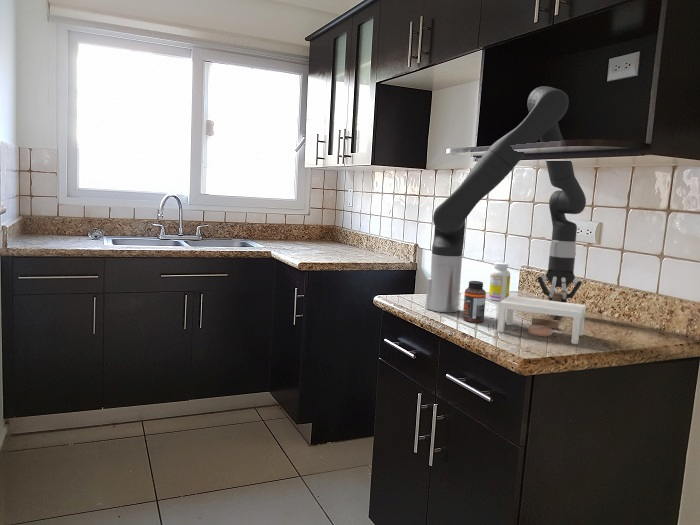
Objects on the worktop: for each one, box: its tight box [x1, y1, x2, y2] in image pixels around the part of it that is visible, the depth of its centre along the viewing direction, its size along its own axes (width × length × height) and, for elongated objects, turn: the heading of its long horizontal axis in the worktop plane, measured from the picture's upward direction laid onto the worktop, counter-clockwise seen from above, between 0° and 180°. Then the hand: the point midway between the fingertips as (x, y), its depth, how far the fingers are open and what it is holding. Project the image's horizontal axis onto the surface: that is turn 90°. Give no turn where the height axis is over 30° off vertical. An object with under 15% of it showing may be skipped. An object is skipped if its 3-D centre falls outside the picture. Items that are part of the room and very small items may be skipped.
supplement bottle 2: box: [488, 262, 511, 302], centre depth 196 cm, size 7×7×13 cm
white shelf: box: [496, 295, 586, 345], centre depth 149 cm, size 20×12×8 cm, turn 62°
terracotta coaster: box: [527, 324, 553, 337], centre depth 150 cm, size 6×6×2 cm
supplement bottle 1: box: [462, 280, 487, 324], centre depth 160 cm, size 6×6×11 cm
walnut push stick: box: [531, 291, 562, 330], centre depth 169 cm, size 7×29×6 cm, turn 152°
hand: (557, 309), depth 177 cm, fingers closed on walnut push stick, 2 cm apart
